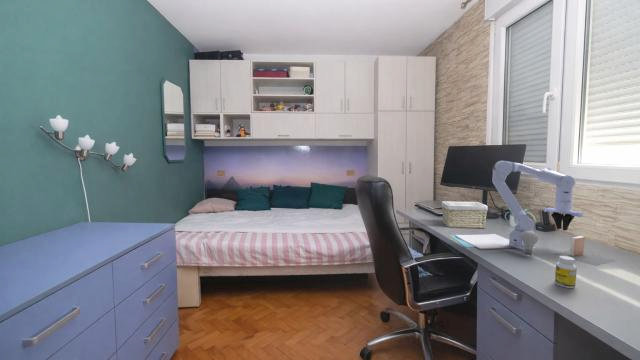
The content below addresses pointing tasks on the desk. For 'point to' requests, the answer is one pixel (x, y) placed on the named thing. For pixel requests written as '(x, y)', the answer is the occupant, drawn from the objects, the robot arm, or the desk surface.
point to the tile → (577, 246)
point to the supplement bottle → (565, 272)
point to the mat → (588, 258)
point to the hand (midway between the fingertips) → (561, 229)
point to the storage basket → (464, 214)
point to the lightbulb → (529, 240)
